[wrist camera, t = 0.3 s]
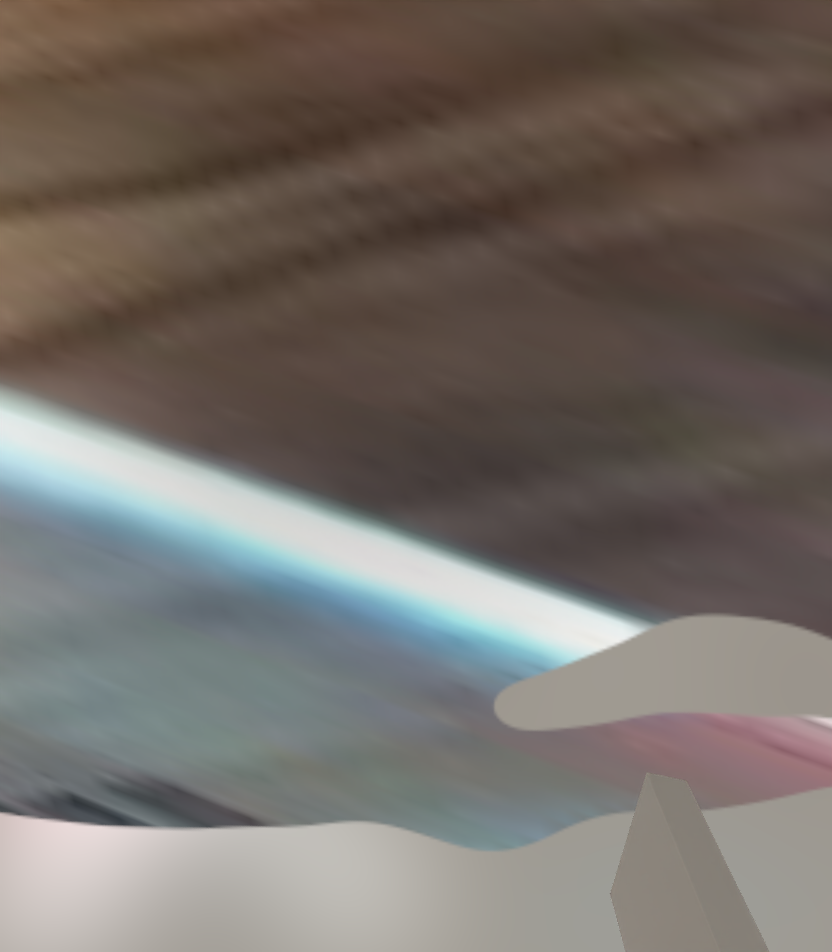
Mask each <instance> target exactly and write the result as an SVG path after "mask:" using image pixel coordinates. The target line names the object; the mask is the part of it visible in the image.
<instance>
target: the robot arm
mask: <svg viewBox="0 0 832 952" xmlns="http://www.w3.org/2000/svg"><path fill="white" fill-rule="evenodd" d="M610 895H611V899H612V903H613V906H614V910H615V914H616V918H617V922H618V925H619V929H620V933H621V936H622V940H623V944H624V948H625V951H626V952H769V950H768V948H767V946H766V944H765V942H764V940H763V938H762V935H761V933H760V932H759V929H758V927H757V925H756V923H755V921H754V919H753V917H752V915H751V913H750V911H749V909H748V907H747V905H746V903H745V901H744V899H743V896H742V895H741V893H740V890H739V889H738V886H737V884H736V882H735V880H734V878H733V876H732V874H731V872H730V870H729V868H728V866H727V864H726V862H725V860H724V857H723V855H722V853H721V851H720V849H719V847H718V845H717V843H716V841H715V839H714V837H713V835H712V833H711V831H710V829H709V827H708V825H707V822H706V820H705V818H704V816H703V814H702V812H701V810H700V808H699V806H698V804H697V802H696V800H695V798H694V796H693V794H692V792H691V790H690V788H689V786H688V783H687V781H685V780H680V779H676V778H671V777H666V776H661V775H657V774H652V773H646V777H645V780H644V783H643V787H642V790H641V793H640V797H639V800H638V803H637V807H636V810H635V813H634V816H633V820H632V823H631V826H630V830H629V833H628V837H627V840H626V843H625V846H624V850H623V853H622V856H621V860H620V863H619V866H618V870H617V873H616V876H615V879H614V883H613V886H612V889H611V893H610Z"/></svg>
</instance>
